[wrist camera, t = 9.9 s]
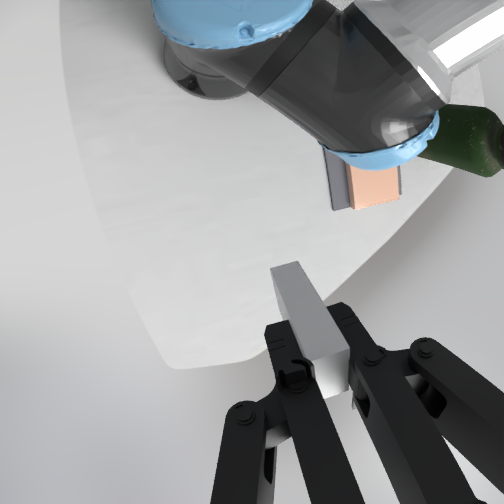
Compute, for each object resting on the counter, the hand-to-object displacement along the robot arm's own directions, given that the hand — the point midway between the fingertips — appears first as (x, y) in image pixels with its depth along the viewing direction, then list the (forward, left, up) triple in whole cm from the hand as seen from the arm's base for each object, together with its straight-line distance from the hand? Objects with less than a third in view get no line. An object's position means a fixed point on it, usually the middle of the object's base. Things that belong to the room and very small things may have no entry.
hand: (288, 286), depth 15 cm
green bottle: (-3, +35, -29) cm, 45 cm away
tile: (+4, +17, -27) cm, 32 cm away
